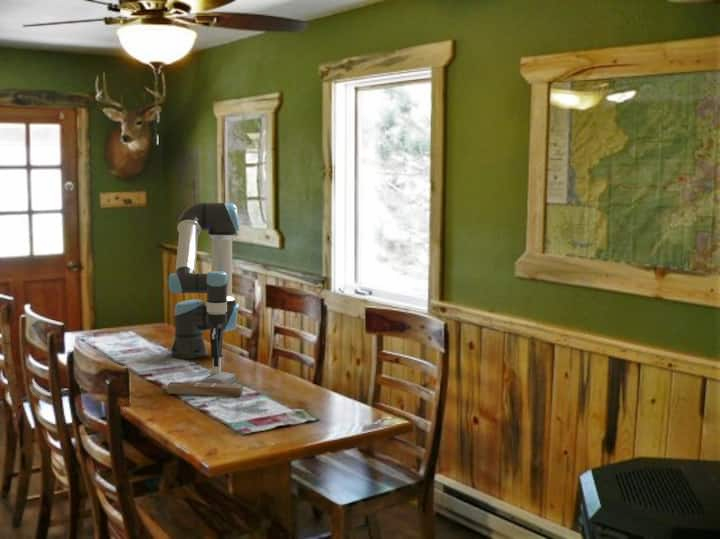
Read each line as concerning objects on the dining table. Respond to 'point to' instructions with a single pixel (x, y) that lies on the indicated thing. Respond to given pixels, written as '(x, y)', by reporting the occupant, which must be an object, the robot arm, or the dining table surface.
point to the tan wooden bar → (204, 389)
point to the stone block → (220, 378)
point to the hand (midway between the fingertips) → (216, 374)
